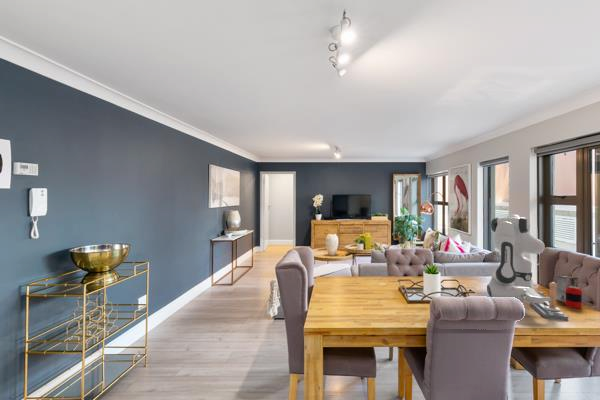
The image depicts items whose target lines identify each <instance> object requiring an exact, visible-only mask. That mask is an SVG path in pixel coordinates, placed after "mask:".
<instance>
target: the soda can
mask: <svg viewBox="0 0 600 400" xmlns="http://www.w3.org/2000/svg"><path fill="white" fill-rule="evenodd" d="M582 293H583V291H582V289H581V288H580V287H578V286H577V287H574V286H568V287H567V288H566V302H564V303H565V306H566V307H568V308H569V307H570V308H574V309H581V308H582V302H583V301H582V299H583V298H582V297H583V296H582V295H583V294H582Z"/></svg>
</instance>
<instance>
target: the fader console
mask: <svg viewBox="0 0 600 400" xmlns="http://www.w3.org/2000/svg"><path fill="white" fill-rule="evenodd" d="M529 305H530V307H532V309H534V310H535V311H536V312H537V313H539V314H540V315H541V316H542V317H543V318H546V319H552V320H559V321H560V320H562V321H569V316H568V315H567V314H565V313H563V312H562V310H561V311H556V312H552V311H551V310H547V309H545V308H544V306H549V301H544V303H543V304H539V303H532V302H529Z"/></svg>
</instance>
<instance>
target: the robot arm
mask: <svg viewBox="0 0 600 400" xmlns="http://www.w3.org/2000/svg"><path fill="white" fill-rule="evenodd" d="M530 228H531V223H530V221H529V219H528V218H527V217H521V216H520V215H518V214H509V215H507V216H505V217H496V218H494V217H493V219H492V220H491V221H490V229H491V231H493V232H494V240H493V241H494V247H495V248H496V250H498V251H499V252H500V258H499V259H500V263H499V266H498V267H497V268H496V270H494V271H493V273H492V274H491V278H490V281H489V282H488V284H487V285H486V291H487V292H486V293H487V294H488V296H489V297H490V298H492V297H515V298H517V299H519V300H520V301H521V302H520V303H523V302H524V301H527V303H528V302H529V303H530V302H532V303H539V304H543V303H544V301H547V302H549V301H551V298H550V297H549V296H545V293H544V292H543V291H538V290H535V288H534V281H533V279H532V278H533V272H532V267H533V266H532V264H533V263H532V260H531V259H529V258H528V257H525V255H524V254H530V255H532V254H533V255H534V254H535V255H538V254H539V255H541V254H542V253H544V251H545V248H546V246H545V243H544V242H543V241H542V240H540V239H538V238H537V237H534V236H533V235H532V234H531V233H530V232H529V231H530ZM523 253H524V254H523Z"/></svg>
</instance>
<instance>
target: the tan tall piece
mask: <svg viewBox="0 0 600 400" xmlns="http://www.w3.org/2000/svg"><path fill="white" fill-rule="evenodd" d="M548 286H549V296H548V297H550V298H551V301H548V302H549V306H544V308H545V309H547V310H551V311H552V312H556V311H561V312H562V309H561V308H560V307H557V282H553V281H551V282H550V283H548Z"/></svg>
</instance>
